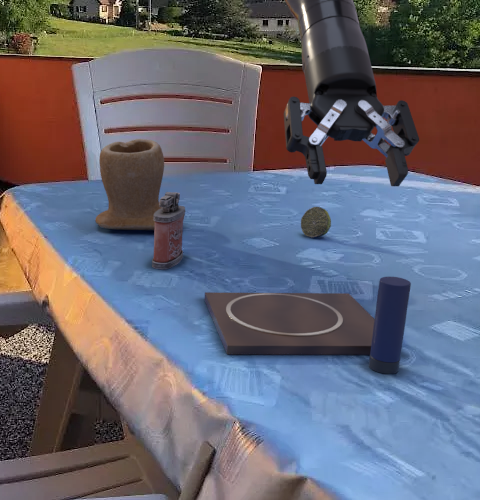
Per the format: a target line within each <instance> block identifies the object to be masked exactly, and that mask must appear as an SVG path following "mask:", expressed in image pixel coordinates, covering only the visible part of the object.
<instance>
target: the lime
mask: <svg viewBox="0 0 480 500" xmlns="http://www.w3.org/2000/svg"><path fill="white" fill-rule="evenodd" d="M331 227H332V220H331V216H330V214H329V212H328V211H327V210H326V209H325V208H323V207H320V206H313V207H311V208H309V209H307V210H306V211H305V212H304V214H303V215H302V216H301V219H300V229H301V231H302V233H303V234H304V236H306V237H308V238H320V237H323V236H325V235H326V234H328V232H329V231H330V229H331Z"/></svg>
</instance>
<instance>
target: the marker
mask: <svg viewBox="0 0 480 500" xmlns="http://www.w3.org/2000/svg"><path fill="white" fill-rule="evenodd" d="M411 285H412V282H411V281H409V279H406V278H402V277H398V276H382V277H380V278H379V282H378V290H377V298H376V303H375V304H376V305H375V311H374V312H375V313H374V319H375V320H374V328H373V336H372V344H371V351H370V355H369V360H368V367H369V368H370V369H371V370H372V371H374V372H376V373H379V374H384V375H385V374H386V375H392V374H397V373H398V372H399V370H400V363H401V355H402V349H403V342H404V335H405V328H406V322H407V316H408V315H407V314H408V308H409V307H408V306H409V299H410V292H411Z"/></svg>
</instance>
